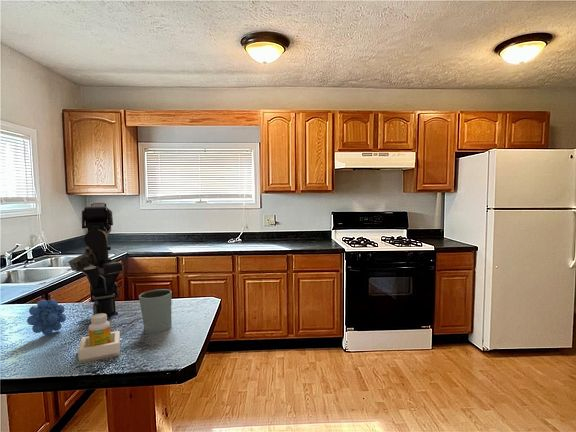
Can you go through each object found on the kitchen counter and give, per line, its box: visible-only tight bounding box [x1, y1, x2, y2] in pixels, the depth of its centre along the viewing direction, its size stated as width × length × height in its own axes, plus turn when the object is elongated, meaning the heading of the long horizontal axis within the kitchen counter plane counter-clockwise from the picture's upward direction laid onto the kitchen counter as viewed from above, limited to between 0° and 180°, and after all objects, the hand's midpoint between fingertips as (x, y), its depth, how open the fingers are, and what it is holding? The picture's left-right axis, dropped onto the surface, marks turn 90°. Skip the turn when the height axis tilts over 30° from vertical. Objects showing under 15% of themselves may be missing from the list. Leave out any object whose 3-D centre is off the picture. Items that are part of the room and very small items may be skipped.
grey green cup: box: [138, 288, 173, 335], centre depth 113 cm, size 10×10×12 cm
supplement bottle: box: [88, 313, 112, 347], centre depth 97 cm, size 5×5×10 cm
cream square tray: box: [77, 330, 121, 364], centre depth 97 cm, size 10×10×4 cm
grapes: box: [26, 298, 67, 336], centre depth 110 cm, size 12×7×12 cm, turn 156°
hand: (100, 291), depth 113 cm, fingers open, 9 cm apart
